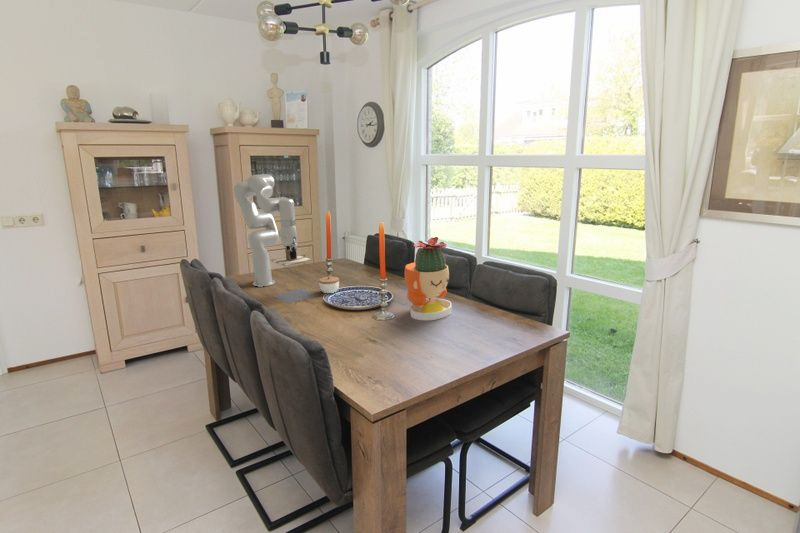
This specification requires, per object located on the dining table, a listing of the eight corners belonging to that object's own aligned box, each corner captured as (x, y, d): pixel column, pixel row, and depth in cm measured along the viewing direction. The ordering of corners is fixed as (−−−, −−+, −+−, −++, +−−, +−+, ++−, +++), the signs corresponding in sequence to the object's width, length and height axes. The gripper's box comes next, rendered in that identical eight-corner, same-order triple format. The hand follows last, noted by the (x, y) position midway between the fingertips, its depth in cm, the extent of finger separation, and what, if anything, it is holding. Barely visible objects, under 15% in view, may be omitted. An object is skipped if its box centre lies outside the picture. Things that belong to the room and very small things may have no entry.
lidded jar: (341, 289, 251) (340, 273, 249) (337, 296, 241) (336, 278, 238) (322, 289, 252) (321, 273, 250) (317, 296, 242) (316, 279, 240)
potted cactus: (460, 309, 214) (459, 236, 205) (429, 324, 198) (428, 245, 189) (424, 300, 228) (423, 231, 219) (393, 313, 212) (390, 239, 204)
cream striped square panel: (271, 296, 244) (271, 295, 244) (301, 289, 255) (301, 288, 255) (288, 304, 231) (288, 303, 230) (318, 295, 242) (318, 295, 242)
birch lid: (271, 261, 239) (270, 250, 237) (297, 256, 248) (296, 246, 247) (285, 266, 228) (284, 255, 226) (311, 260, 237) (310, 249, 236)
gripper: (273, 222, 237) (277, 256, 241) (289, 225, 225) (293, 261, 229) (286, 220, 241) (290, 254, 246) (303, 223, 229) (306, 259, 234)
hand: (291, 257), depth 238 cm, fingers closed on birch lid, 4 cm apart
